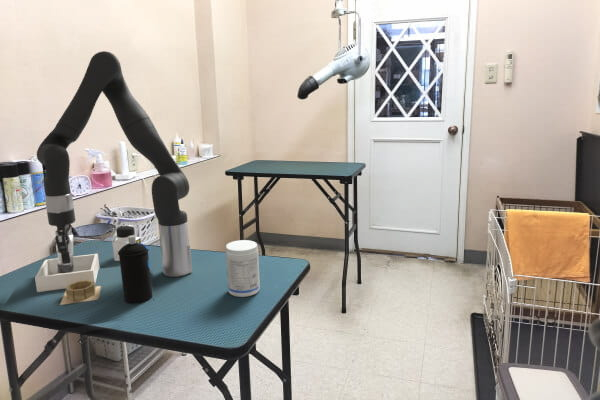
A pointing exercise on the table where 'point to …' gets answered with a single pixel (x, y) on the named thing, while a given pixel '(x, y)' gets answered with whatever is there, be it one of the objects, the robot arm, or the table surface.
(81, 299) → the socket base
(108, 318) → the table surface
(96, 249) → the table surface
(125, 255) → the aerosol can
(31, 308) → the table surface
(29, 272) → the table surface
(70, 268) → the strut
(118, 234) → the medicine bottle
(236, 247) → the supplement tub
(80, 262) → the bin
